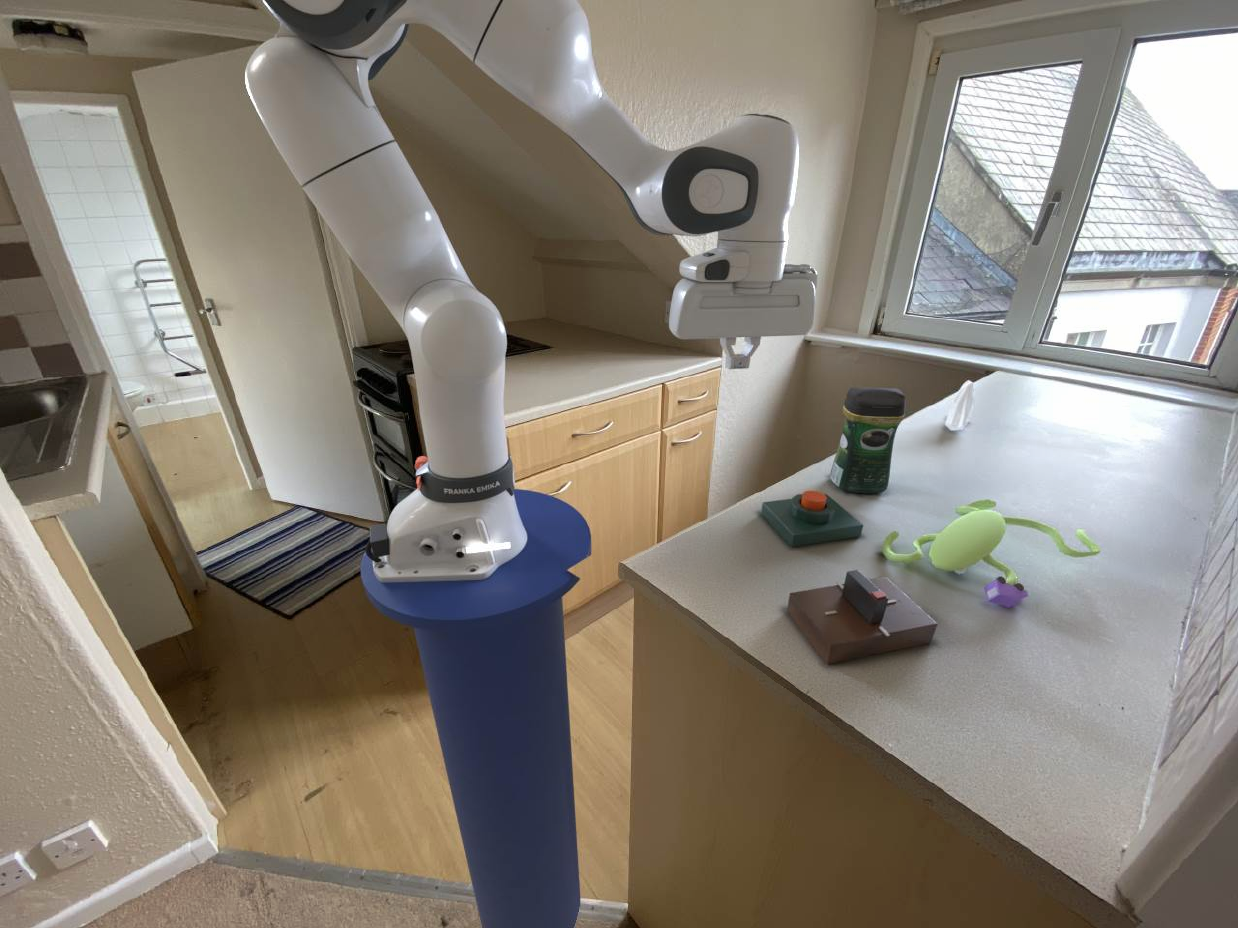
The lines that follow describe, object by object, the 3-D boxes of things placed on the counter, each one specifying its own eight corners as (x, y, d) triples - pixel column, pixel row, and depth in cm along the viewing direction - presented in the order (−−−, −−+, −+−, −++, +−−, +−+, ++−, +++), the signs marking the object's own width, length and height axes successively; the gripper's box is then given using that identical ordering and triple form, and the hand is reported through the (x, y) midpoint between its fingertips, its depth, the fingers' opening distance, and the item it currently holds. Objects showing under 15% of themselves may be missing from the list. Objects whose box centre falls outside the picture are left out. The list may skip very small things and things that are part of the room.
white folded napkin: (962, 436, 118) (977, 389, 113) (941, 432, 120) (955, 385, 116) (969, 420, 127) (983, 375, 122) (949, 416, 129) (962, 372, 124)
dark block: (841, 593, 66) (847, 569, 64) (852, 591, 66) (858, 567, 65) (870, 624, 61) (877, 599, 60) (882, 621, 62) (889, 596, 60)
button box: (791, 547, 80) (795, 524, 78) (760, 513, 89) (763, 492, 87) (860, 536, 83) (866, 514, 81) (824, 504, 92) (828, 484, 90)
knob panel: (828, 667, 60) (833, 646, 58) (784, 609, 68) (788, 590, 67) (933, 645, 63) (940, 624, 61) (879, 592, 71) (884, 573, 70)
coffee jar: (876, 476, 101) (899, 382, 93) (891, 496, 94) (917, 397, 86) (824, 473, 102) (842, 381, 94) (835, 494, 95) (855, 395, 87)
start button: (808, 512, 82) (810, 503, 82) (796, 501, 85) (798, 491, 85) (829, 509, 83) (831, 500, 82) (816, 498, 86) (818, 489, 85)
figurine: (1104, 569, 75) (1121, 536, 73) (991, 630, 65) (1006, 594, 62) (976, 509, 90) (986, 480, 88) (866, 550, 79) (874, 519, 77)
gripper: (807, 262, 74) (791, 359, 80) (668, 262, 69) (662, 365, 75) (833, 266, 68) (814, 370, 74) (685, 267, 64) (677, 377, 70)
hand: (736, 368), depth 75 cm, fingers closed
